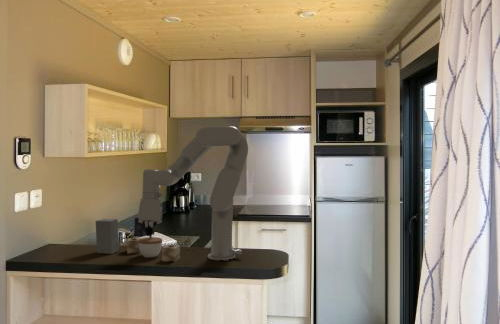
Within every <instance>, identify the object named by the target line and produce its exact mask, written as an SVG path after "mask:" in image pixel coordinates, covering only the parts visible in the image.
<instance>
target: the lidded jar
mask: <svg viewBox="0 0 500 324" xmlns="http://www.w3.org/2000/svg"><path fill="white" fill-rule="evenodd" d="M140 238H141V239H139V240H138V242H139V250H140V253H139V254H141V255H142V256H143V258H146V259H147V258H150V257H151V258H156V257H157V256H158V255H159V253H160V252H162V247H163V238H161V237H157V236H156V237H155V236H153V235H152V236H145V237H140Z"/></svg>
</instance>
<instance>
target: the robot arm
mask: <svg viewBox="0 0 500 324" xmlns="http://www.w3.org/2000/svg"><path fill="white" fill-rule="evenodd" d="M248 145H249V143H248V141H247V139H246V137H245V135H244V134H243V133H242V132H241V131H240V130H239V129H238V128H237V127H235V126H231V125H229V126H228V125H227V126H208V127H207V126H205V127H204V126H203V127H201V128H199V129H198V130H197V131H196V134H195V136H194V137H193V139H191V140H190V141H189V142H188V144H187V145H185V147H183V149H181V151H180V154H179V157H178V158H177V159H176V160H175V162H173V164H172V165H171V166H170V167H168V169H167V168H166V169H152V168H150V169H149V168H146V169H144V170H143V172H142V198H140V202H139V206H138V207H139V209H138V213H137V214H138V218H139V220H138V222H139V223H143V224H144V225H145V227H146V234H147V236H146V237H149V236H152V237H153V235H154V234H153V227H154V226H155V227H156V225H158V224H161V223H162V222H163V221H162V219H163V206H162V205H163V203H162V199H161V198H163V193H160V186H162V187H169V186H172V185H174V184H176V183H178V182H179V180H181V179H182V178H183V177H184V176H185V174H186V173H188V172H189V171H190V170H191V168H193V167H194V165H195V164H196V163H197V162H198V161H199V160H200V159H201V158H202V157H203V156H204V155H205V154H206V153H207V152H208V151H209V150H210V149H211V148H212V147H225V146H226V147H227V146H228V147H229V151H228V155H227V157H226V161H225V163H224V166H223V168H222V169H221V170H220V171H219V173H218V174H217V177H216V180H215V182H214V186H213V189H212V191H211V195H210V198H209V204H210V207H211V243H210V244H211V245H210V246H211V247H210V248H211V250H210V253H208V255H207V258H208V259H209V260H212V261H220V260H223V261H230V260H229V259H231V260H233V258H234V259H235V258H236V255H242V249H234V246H233V220H234V218H233V215H234V213H233V212H234V196H235V195H236V194H235V193H236V191H237V188H238V185H239V183H240V181H241V176H242V173H243V170H244V168H245V163H246V160H247V158H248V154H249V146H248ZM149 221H151V225H149Z"/></svg>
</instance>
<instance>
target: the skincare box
mask: <svg viewBox="0 0 500 324" xmlns="http://www.w3.org/2000/svg"><path fill="white" fill-rule="evenodd" d="M118 220H119V219H118V218H101V219H97V220H95V235H96V236H95V238H96V239H95V240H96V253H97V254H109V255H110V254H114V253H117V252H119V251H120V246H119V245H120V243H119V240H120V239H119V221H118Z"/></svg>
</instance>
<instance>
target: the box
mask: <svg viewBox="0 0 500 324" xmlns="http://www.w3.org/2000/svg"><path fill="white" fill-rule="evenodd" d="M138 220H139V218H138V217H134V226H133V227H134V229H133V235H134V236H137V237H140V238H143V237H148V236H147V234H146V227H145V225H144V224H143V223H139V222H138ZM149 225H151V221H149ZM155 227H156V225H155V226H154V227H153V234H152V235H155Z"/></svg>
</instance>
